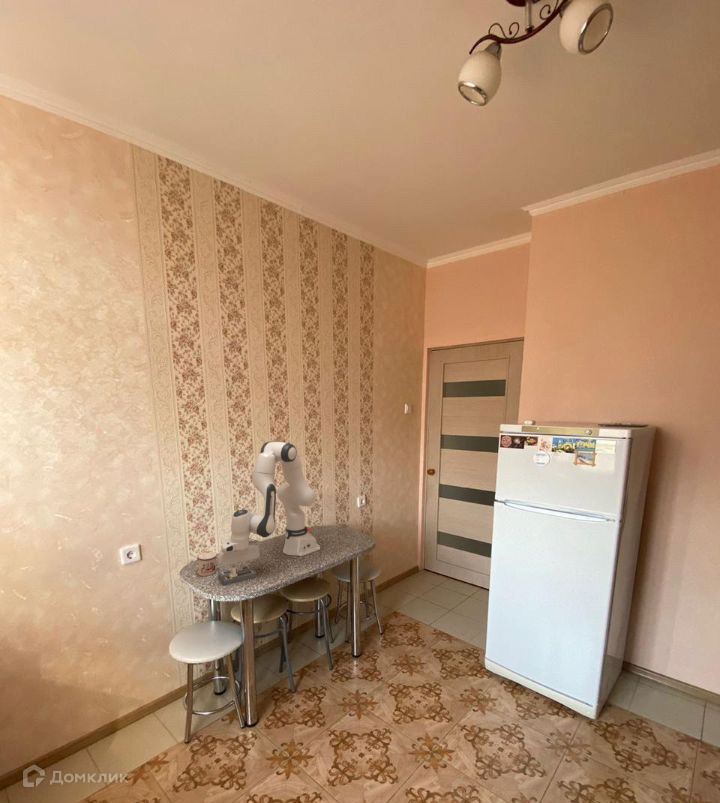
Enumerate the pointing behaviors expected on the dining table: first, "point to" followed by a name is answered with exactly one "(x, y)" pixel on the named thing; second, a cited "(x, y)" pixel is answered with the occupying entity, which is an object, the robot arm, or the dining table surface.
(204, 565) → the teacup with lid
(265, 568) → the dining table surface
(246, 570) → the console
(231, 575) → the cap
